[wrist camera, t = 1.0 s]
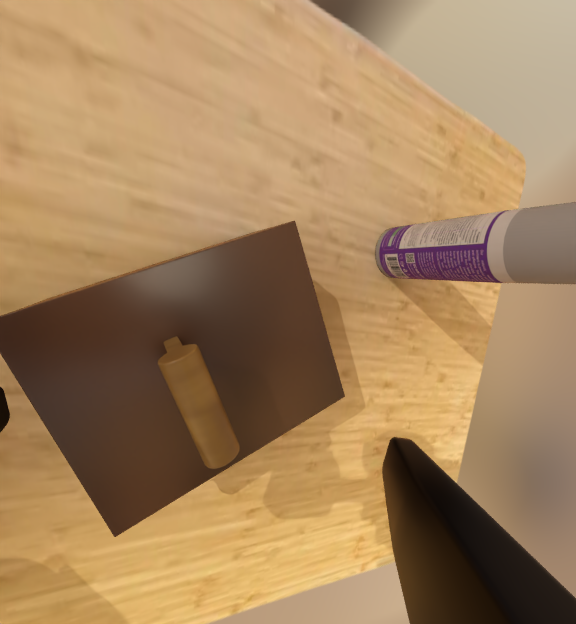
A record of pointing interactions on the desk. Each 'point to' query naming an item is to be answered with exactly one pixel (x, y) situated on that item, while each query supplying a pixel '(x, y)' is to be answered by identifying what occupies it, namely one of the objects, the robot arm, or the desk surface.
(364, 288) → the desk surface
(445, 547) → the robot arm
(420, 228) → the container
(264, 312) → the box door
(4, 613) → the desk surface
